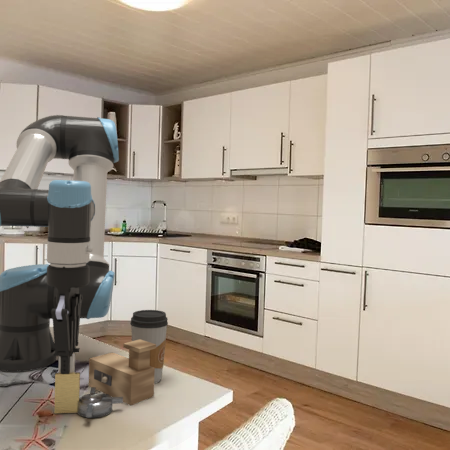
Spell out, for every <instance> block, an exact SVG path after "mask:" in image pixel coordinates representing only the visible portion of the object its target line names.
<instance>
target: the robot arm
mask: <svg viewBox="0 0 450 450" xmlns="http://www.w3.org/2000/svg"><path fill="white" fill-rule="evenodd" d="M117 132H118V131H117V127H116V123H115V121H113V120H112V119H109V118H102V117H98V116H96V117H85V116H74V115H60V114H56V115H49V116H45V117H42V118H39V119H37V120H34V121H33V122H31V123H30V124H28V125H27V126H26V127H25V128H24V129H22V130H21V132H20V133H19V135H18V136H17V140H16V144H15V145H16V151H15V152H14V154H13V156H12V158H11V159H10V161H9V162H8V163H9V164H8V166H7V167H6V169H5V170H4V173H3V174H2V176H1V178H0V227H39V228H42V227H44V228H47V243H46V247H47V248H46V262H47V263H46V264H45V263H43V264H42V263H41V264H39V263H38V264H30V265H22V266H16V267H13V268H11V267H10V268H8V269H6V270H4V271H2V272H1V273H0V371H1V372H7V373H8V372H10V373H13V372H29V371H35V370H38V369H43V368H45V367H48V366H51V365H52V364H54V363H55V362H56V361H57V357H58V372H57V373H61V374H69V373H73V372H75V370H76V369H75V367H76V354H77V353H78V354H79V353H80V350H81V349H80V347H78V348H77V346H78V345H79V338H80V337H79V335H80V325H81V324H80V323H81V319H87V320H90V319H100V318H101V319H102V318H104V317H106V316H107V315H108V313H109V310H110V306H111V301H112V296H113V290H114V283H115V277H116V276H115V274H116V272H114V271H113V270H110V263H109V262H108V261H107V260H106V259H105V258H104V255H105V253H104V251H105V234H106V232H105V229H106V211H107V210H106V209H107V208H106V206H107V183H108V181H107V179H108V172H111V171H112V170H113V168H114V164H115V163H117V162H119V161H120V158H119V157H120V156H119V142H118V134H117ZM54 159H55V160H56V159H57V160H60V159H61V160H68V166H69V167H70V168H71V169H72V170H73V180H68V179H67V180H66V179H52V180H51V181H50V182H49V183H48V189H39V186H40V183H41V180H42V178H43V175H44V173H45V171H46V168H47V165H48V163H50V162H51V161H52V160H54ZM51 320H52V325H53V326H52V328H53V335H52V333H51V332H52V331H51V326H50V325H51ZM75 353H76V354H75Z"/></svg>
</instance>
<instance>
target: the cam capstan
mask: <svg viewBox="0 0 450 450" xmlns="http://www.w3.org/2000/svg"><path fill="white" fill-rule="evenodd" d="M54 376H55V378H54V415H55V414H73V413H77V415H79V416H81V417H84V418H88V419H95V418H100V417H101V418H102V417H104V416H107V415H109V414H110V413H112V412H113V404H124V402H123V397H112V396H110V395H108V394H105V393H103V392H101V391H99V392H96V391H97V390H96V387H90V392H89V393H87V394H84V395H82V396H80V394H81V393H80V389H81V386H80V385H81V372H80V371H79V372H73V373H69V374H61V373H58V372H55V374H54Z"/></svg>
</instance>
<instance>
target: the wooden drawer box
mask: <svg viewBox="0 0 450 450" xmlns="http://www.w3.org/2000/svg"><path fill="white" fill-rule="evenodd" d="M122 347H123V348H124V349H127V350H128V357H127V356H123V355H120V354H118V353H115V352H108V353H104V354H101V355H97V356H93V357H90V358H88V360H89V361H88V363H89V365H88V387H90V388H91V387H96V391H98V392H103V393H104V394H108V395H110V396H112V397H123V404H124V403H125V404H127V405H129V406H133V405H135V404H138V403H141V402H143V401H146V400H149V399H151V398H154V396H155V395H154V394H155V384H154V373H155V368H154V367H151V366H150V350H152V349H155V348H156V344H153V343H150V342H147V341H144V340H141V339H139V340H135V341H132V340H131V341H128V342H124V343H123V344H122Z"/></svg>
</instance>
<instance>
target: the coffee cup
mask: <svg viewBox="0 0 450 450" xmlns="http://www.w3.org/2000/svg"><path fill="white" fill-rule="evenodd" d="M168 325H169V322H168V317H167V314H166V312H165V311H162V310H158V309H157V310H156V309H142V310H136V311H135V312H133V313H132V317H131V318H130V326H131V327H130V328H131V341H135V340H139V339H141V340H144V341H147V342H150V343H153V344H156V348H155V349H152V350H150V366H151V367H154V368H155V373H154V385H155V384H158V383H159V382H160V381H161V379H162V377H163V367H164V363H165V354H166V353H165V351H166V344H167V343H166V341H167V340H166V337H167V330H168V329H167V327H168Z"/></svg>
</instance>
